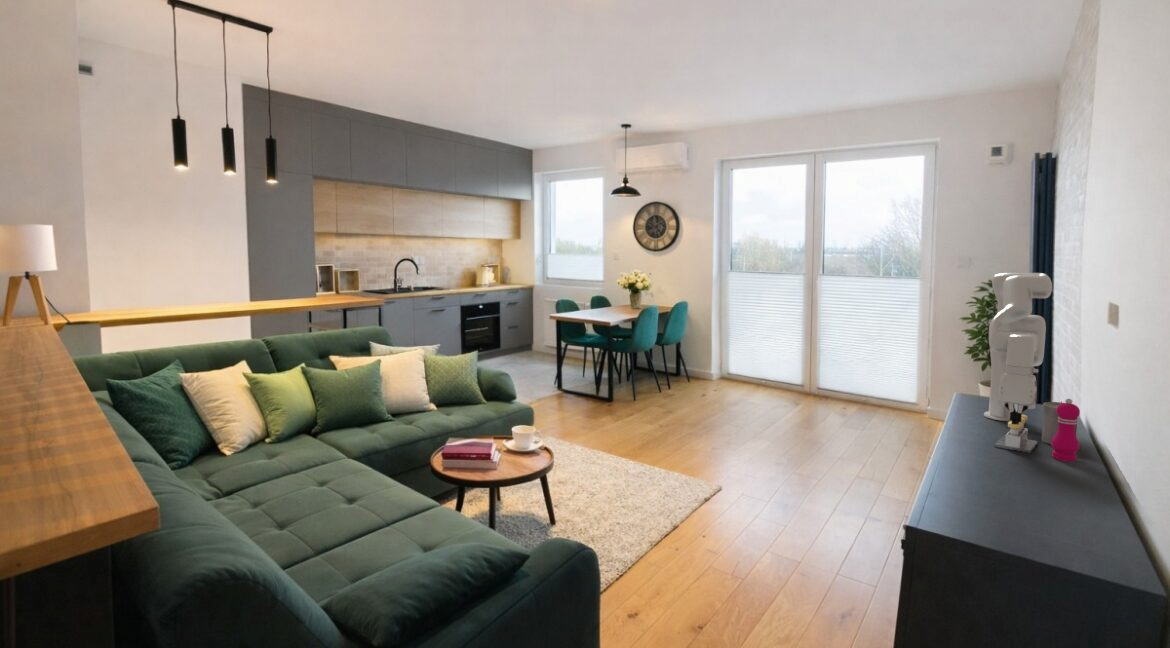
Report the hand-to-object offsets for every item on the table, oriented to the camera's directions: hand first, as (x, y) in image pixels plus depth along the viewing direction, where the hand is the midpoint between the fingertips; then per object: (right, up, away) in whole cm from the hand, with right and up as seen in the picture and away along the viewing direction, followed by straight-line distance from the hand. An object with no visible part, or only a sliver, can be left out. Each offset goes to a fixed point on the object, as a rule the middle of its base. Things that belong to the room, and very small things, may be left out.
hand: (1015, 423), depth 209 cm
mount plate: (+3, -9, +4) cm, 10 cm away
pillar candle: (+20, -8, +7) cm, 23 cm away
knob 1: (+3, -4, +4) cm, 7 cm away
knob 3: (+7, -4, +7) cm, 11 cm away
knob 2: (0, -6, +1) cm, 6 cm away
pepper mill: (+10, -10, -9) cm, 17 cm away
